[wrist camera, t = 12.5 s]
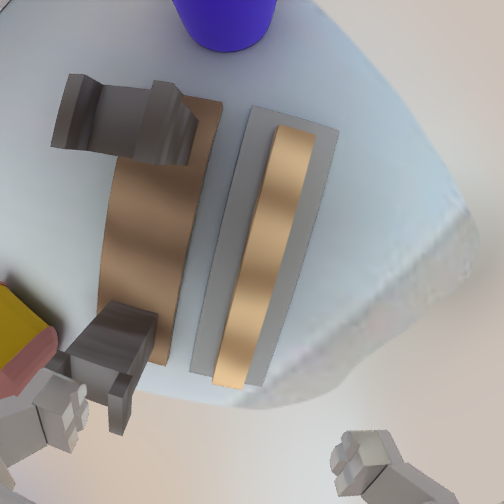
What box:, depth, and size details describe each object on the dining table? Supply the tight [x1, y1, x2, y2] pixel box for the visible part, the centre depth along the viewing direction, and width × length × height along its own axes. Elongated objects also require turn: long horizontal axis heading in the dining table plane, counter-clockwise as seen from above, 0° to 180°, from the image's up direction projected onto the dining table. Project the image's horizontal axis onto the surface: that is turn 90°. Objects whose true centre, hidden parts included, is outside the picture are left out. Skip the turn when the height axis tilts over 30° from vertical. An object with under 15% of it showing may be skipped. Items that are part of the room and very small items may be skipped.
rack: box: [44, 74, 223, 436], centre depth 22 cm, size 26×8×14 cm, turn 166°
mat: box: [189, 105, 339, 386], centre depth 29 cm, size 27×8×1 cm, turn 166°
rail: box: [212, 124, 316, 390], centre depth 27 cm, size 24×3×3 cm, turn 166°
